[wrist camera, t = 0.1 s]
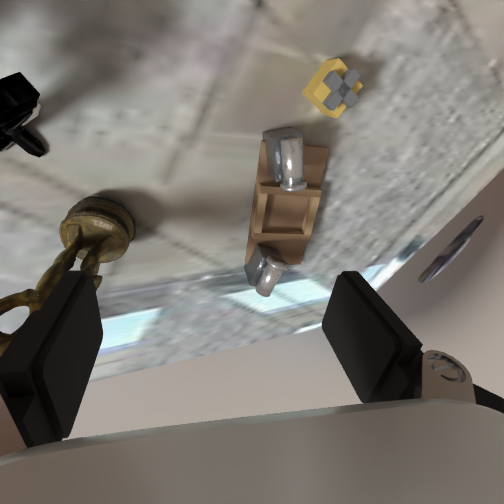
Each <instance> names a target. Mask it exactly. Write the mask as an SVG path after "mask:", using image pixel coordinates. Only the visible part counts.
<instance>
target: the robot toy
mask: <svg viewBox="0 0 504 504" xmlns="http://www.w3.org/2000/svg"><path fill="white" fill-rule="evenodd" d="M39 96H40V93H39V92H38V91H37V90H36V89H35V88H34V87H33V86H32V85H31V83H30V82H29V81H28V80H27V79H26V78H25V77H24V76H23V75H22V74H21V73H20V72H18V73H15V74H12V75H10V76H7V77H5V78H2V79H0V151H2V152H3V151H4V150H5V149H6V148H8V147H9V146H10V145H11V144H12V143H14V142H15V143H16V144H18V145H19V146H20V147H21V148H23V149H24V150H25V151H26V152H27V153H29V154H31V155H34V156H37V157H39V158H40V157H41V156H42V155H44V154H45V153H46V151H45V149H44V148H43V146H42V144H41V142H39V141H38V140H37V139H36V138H35V137H34V136H33V135H31V134H30V133H29V132H28V131H27V130H26V129H24V130H23V129H22V128H21V127H20V125H22V126H24V125H26V124H27V123H28V122H30V121H31V120H32V119H34V118H35V117H37V116H38V114H39V111H40V108H41V106H40V105H39V104H38V102H37V100H38V98H39ZM9 135H10V136H14V138H13V139H12V138H11V137H10V136H9Z"/></svg>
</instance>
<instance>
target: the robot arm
mask: <svg viewBox="0 0 504 504" xmlns="http://www.w3.org/2000/svg"><path fill="white" fill-rule="evenodd" d="M322 329H323V331H324V333H325V335H326V337H327V339H328V341H329V343H330V345H331V346H332V348H333V350H334V352H335V354H336V356H337V358H338V360H339V361H340V363H341V365H342V367H343V369H344V371H345V373H346V375H347V376H348V378H349V380H350V382H351V384H352V386H353V387H354V390H355V391H356V393H357V395H358V397H359V399H360V400H361V402H362V403H364V404H356V405H346V406H337V407H328V408H320V409H310V410H301V411H292V412H284V413H275V414H266V415H257V416H249V417H240V418H231V419H223V420H214V421H206V422H198V423H189V424H182V425H173V426H164V427H156V428H148V429H140V430H133V431H125V432H118V433H110V434H103V435H96V436H89V437H81V438H75V439H69V440H64V441H62V438H67V437H69V435H70V433H71V430H72V427H73V424H74V421H75V418H76V416H77V413H78V410H79V407H80V404H81V401H82V398H83V395H84V392H85V389H86V386H87V384H88V381H89V378H90V375H91V372H92V369H93V366H94V363H95V360H96V357H97V354H98V351H99V349H100V346H101V343H102V339H103V329H102V323H101V318H100V312H99V307H98V301H97V296H96V290H95V285H94V279H93V276H92V275H87V272H86V271H65V272H64V274H63V275H62V277H61V278H60V280H59V281H58V283H57V284H56V286H55V287H54V289H53V290H52V292H51V293H50V295H49V296H48V298H47V299H46V301H45V302H44V304H43V305H42V307H41V308H40V310H35V311H33V312H32V313H31V314H30V315H29V316H28V318H27V319H26V321H25V322H24V324H23V325H22V326H21V328H20V329H19V331H18V332H17V334H16V335H15V337H14V338H13V339H12V341H11V342H10V344H9V345H8V347H7V348H6V350H5V351H4V352H3V354H2V355H1V357H0V504H504V399H503V398H501V397H499V396H497V395H495V394H493V393H491V392H489V391H487V390H485V389H483V388H481V387H479V386H477V385H475V384H473V383H472V378H471V375H470V373H469V371H468V370H467V369H466V367H465V366H464V365H463V364H462V363H460V362H459V361H457V360H456V359H455V358H454V357H452V356H450V355H448V354H446V353H444V352H440V351H436V350H429V351H426V352H425V353H423V352H422V351H421V350H420V349H421V347H422V345H423V344H422V343H421V342H420V341H419V340H418V339H417V338H416V336H415V335H414V334H413V333H412V332H411V331H410V330H409V329H408V328H407V326H406V325H405V324H404V323H403V322H402V321H401V320H400V318H399V317H398V316H397V315H396V314H395V313H394V312H393V311H392V309H391V308H390V307H389V306H388V305H387V304H386V303H385V302H384V300H383V299H382V298H381V297H380V296H379V295H378V294H377V292H376V291H375V290H374V289H373V288H372V287H371V286H370V285H369V283H368V282H367V281H366V280H365V279H364V278H363V277H362V276H361V274H360V273H359V272H357V271H343V272H342V273H341V275H338V276H337V279H336V282H335V285H334V288H333V291H332V294H331V297H330V300H329V303H328V306H327V309H326V312H325V315H324V318H323V321H322Z"/></svg>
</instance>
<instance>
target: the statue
mask: <svg viewBox="0 0 504 504" xmlns="http://www.w3.org/2000/svg"><path fill="white" fill-rule="evenodd" d="M59 231H60V238H61V241H62V243H63V244H64V247H65V248H66V249H65V250H64V251H63V252H61V253H60V254H59V255H58V257H57V258H56V259H55V261H54V263H53V265H52V266H51V267H50V268H49V269H48V270H47V271H46V272H45V273H44V274H43V276H42V278H41V279H40V280H39V282H38V284H37V286H36V288H35V290H33V289H27V290H25V291H23V292H20V293H16V294H12V295H9V296H7V297H4V298H2V299H0V316H1V315H2V314H4V313H5V312H7V311H10V310H11V309H13V308H15V307H18V306H28V307H29V309H30V314H31V313H32V312H33V311H35V310H40V308H41V307H42V305H43V304H44V302H45V301H46V299H47V298H48V296H49V295H50V293H51V292H52V290H53V289H54V287H55V286H56V284H57V283H58V281H59V280H60V278H61V277H62V275H63V274H64V272H65V271H68V270H70V269H71V268H72V267H73V266H74V262H75V260H76V257H78V258H80V259H82V260H83V261H82V264H81V266H80V269H81V270H80V271H86V272H87V275H92V276H93V279H94V285H95V290H97V288H98V287H100V286H99V285H100V284H101V282H102V276H99V275H97V273H98V270H99V266H100V263H108V262H111V261H114V260H116V259H118V258H120V257H121V256H122V255H123V254H124V253H125V252H126V250H127V248H128V246H129V243H130V242H131V241H132V240H133V239H134V237H135V220H134V219H133V217H132V215H131V214H130V212H129V211H128V210H127V208H126V207H125V206H124V205H123V204H122V203H120V202H118V201H116V200H114V199H112V198H109V197H104V196H99V195H92V196H89V197H86V198H85V199H83V200H81V201H79V202H78V203H77V204H76V205H74V206H73V207H72V208H71V209H70V210H69V212H68V215H67V217H66V218H65V220H63V221H62V222H61V224H60V229H59ZM30 314H29V315H30ZM20 328H21V327H20ZM20 328H18V329H17V330H16V331H15V332H13V333H12V334H6V333H2V332H1V331H0V357H1V355H2V354H3V352H4V351H5V350H6V348H7V347H8V345H9V344H10V342H11V341H12V339H13V338H14V337H15V335H16V334H17V332H18V331H19V329H20Z"/></svg>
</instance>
